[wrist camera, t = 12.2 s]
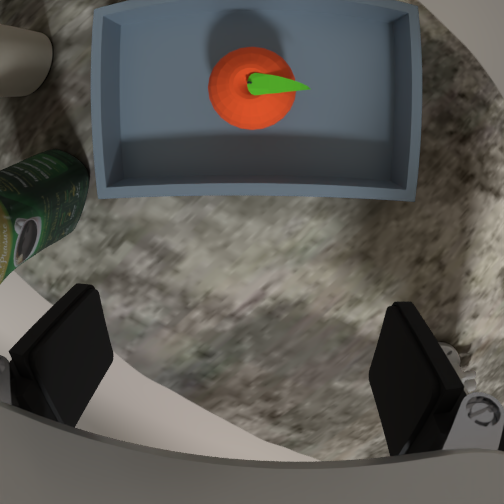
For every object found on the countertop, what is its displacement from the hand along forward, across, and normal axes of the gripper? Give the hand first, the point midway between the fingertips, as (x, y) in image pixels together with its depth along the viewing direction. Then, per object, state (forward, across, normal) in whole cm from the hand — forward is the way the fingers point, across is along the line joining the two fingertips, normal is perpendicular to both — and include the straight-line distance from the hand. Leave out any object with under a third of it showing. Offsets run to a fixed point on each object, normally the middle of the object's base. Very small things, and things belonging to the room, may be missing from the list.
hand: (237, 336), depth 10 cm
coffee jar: (+22, +23, 0) cm, 32 cm away
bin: (+23, +1, -10) cm, 25 cm away
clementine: (+22, 0, -9) cm, 24 cm away
